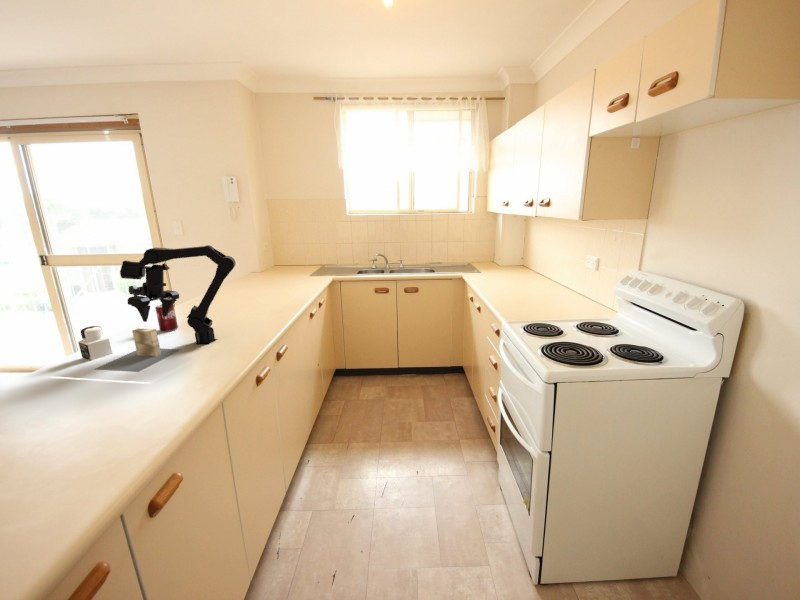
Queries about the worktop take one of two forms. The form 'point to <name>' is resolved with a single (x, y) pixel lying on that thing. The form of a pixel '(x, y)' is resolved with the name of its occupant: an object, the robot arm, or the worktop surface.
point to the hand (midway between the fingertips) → (155, 318)
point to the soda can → (166, 319)
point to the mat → (136, 361)
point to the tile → (146, 342)
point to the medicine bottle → (94, 343)
